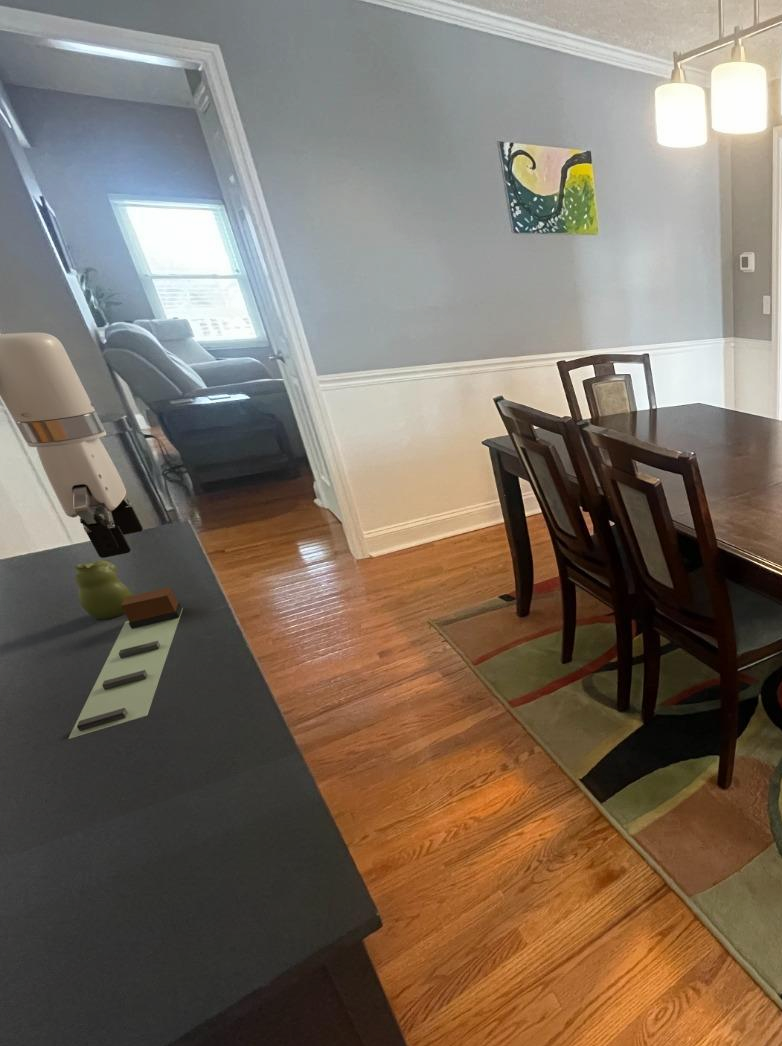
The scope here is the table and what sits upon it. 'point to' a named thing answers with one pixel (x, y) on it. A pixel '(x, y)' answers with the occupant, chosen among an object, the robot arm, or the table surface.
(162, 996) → the table surface
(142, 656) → the board
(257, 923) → the table surface
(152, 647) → the chalk
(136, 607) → the eraser
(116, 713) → the chalk
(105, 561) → the pear
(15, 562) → the table surface
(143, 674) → the chalk
